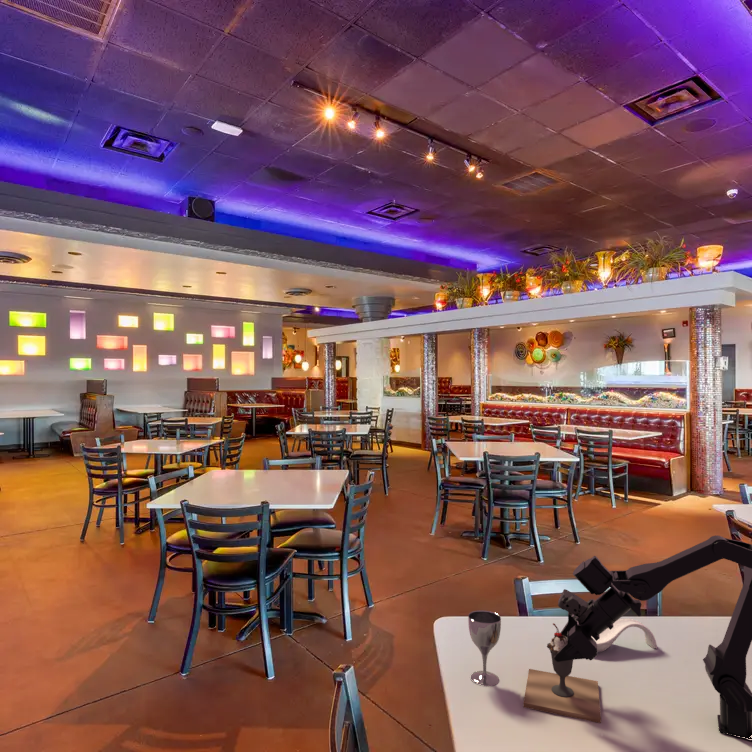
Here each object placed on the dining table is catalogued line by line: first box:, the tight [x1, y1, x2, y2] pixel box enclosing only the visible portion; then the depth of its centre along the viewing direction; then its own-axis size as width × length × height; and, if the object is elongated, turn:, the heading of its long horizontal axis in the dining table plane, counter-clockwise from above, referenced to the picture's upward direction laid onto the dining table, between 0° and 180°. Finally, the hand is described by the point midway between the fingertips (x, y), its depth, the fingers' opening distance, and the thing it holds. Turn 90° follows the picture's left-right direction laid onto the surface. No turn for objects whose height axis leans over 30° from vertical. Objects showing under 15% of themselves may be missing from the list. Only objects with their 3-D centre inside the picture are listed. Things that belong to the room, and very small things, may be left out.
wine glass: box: [467, 609, 502, 687], centre depth 130 cm, size 8×8×15 cm
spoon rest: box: [591, 618, 658, 653], centre depth 147 cm, size 24×12×7 cm, turn 94°
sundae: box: [546, 623, 574, 697], centre depth 122 cm, size 7×7×15 cm
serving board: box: [522, 668, 602, 724], centre depth 122 cm, size 16×16×1 cm
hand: (556, 650), depth 123 cm, fingers open, 9 cm apart
